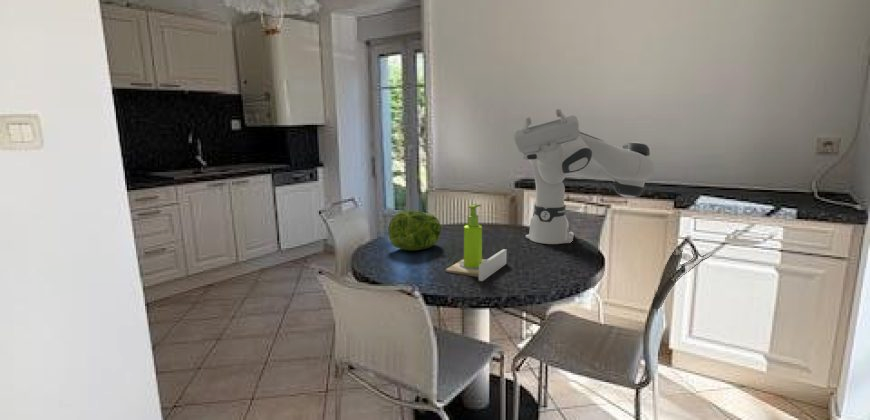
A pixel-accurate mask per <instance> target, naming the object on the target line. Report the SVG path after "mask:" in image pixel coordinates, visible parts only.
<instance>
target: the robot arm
mask: <svg viewBox="0 0 870 420" xmlns="http://www.w3.org/2000/svg"><path fill="white" fill-rule="evenodd" d="M555 114H556V117H557V119H553V120H549V121H545V122H543V123H538V124H534V125H532V120H531V119H532V118H531V116H528V117H525V122H524V124H523V128H520V129H515V130H514V132H513V138H514V142H515V145H516V147H517V149H518V151H519V152H520V153H521V156H522V158H523V160H526V161H528V162H529V163H530V165H531V168H532V172H533V176H534V182H535V204H534V208H533V212H534V215H533V216H531V218H530V219H529V220H530V221H529V233H528V234H525V238H526V239H529V240H530V241H532V242H534V243H538V244H546V245H559V244H572V243H573V242H572V241H574V236H575V235H574V232H573V231H571V230H570V229H569V227H570V226H569V225H570V223H569V220H568V219H567V217H566V210H567V208H566V204H565V191H566V188H565V184H564V182H563V181H564V180H565V178H566V177H567V176H568V175H571V176H576V177H582V178H586V179H592V180H601V181H602V180H610V181H612V183H610V184H609V185H610V186H612V188H613V191H614V192H615V193H616V194H617V195H620V196H621V197H623V198H626V199H634V198H638V197H641V196H642V194H643V192H644V189H645V188H644V187H645V183H646V181H648V180H649V179H650V178H651V177H652V176H653V174H654V172H655V165H654V161H653V160H652V159H651V158H650V155H651V153H650V148H649V146H648V145H647V144H645V143H643V142H640V141H631V142H626V143H624V145H623V146H622V147H621V146H617V145H615V144H612V143H609V142H607V141H605V140H603V139H600V138H598V137H595V136H593V135H590V134H587V133H584V132H581V130H580V129H579V127H580V126H579V125H580V124H579V120H578V118H577V116H575V115H568V116H566V115H565V114H563V113H562V109H561V108H559V109H555ZM571 242H572V243H571Z"/></svg>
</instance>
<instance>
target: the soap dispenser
mask: <svg viewBox="0 0 870 420" xmlns="http://www.w3.org/2000/svg"><path fill="white" fill-rule="evenodd" d="M478 207H482V205H481V204H475V203H474V204H469V206H468V209H470V213H469V214H468V215H467V224H465V225H463V259H464V266H465V267H468V268H478V267H479V264H481V263H482V259H483V257H482V256H483V226H482V225H480V224H479V215H477V214H476V213H477V212H476V210H477V208H478Z"/></svg>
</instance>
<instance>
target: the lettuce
mask: <svg viewBox="0 0 870 420" xmlns="http://www.w3.org/2000/svg"><path fill="white" fill-rule="evenodd" d="M388 224H389V225H388V228H387V233H388V237H389V240H390V243H391V244H392V245H393V247H394V248H397V249H402V250H404V251H410V252H412V251H414V252H416V251H420V250H421V251H422V250H425V249H430V248H431V247H432V246H434V245H435V244H437V242H438V241H439V239H440V238H441V235H442V230H443V229H442V224H441V222H440V220H439V219H438V217H435V216H434V215H433V214H431V213H428V212H424V211H420V210H419V211H418V210H402V211H399V212H397V213H396V214H395V215H394V216H393V217H392V218H391V220H390V222H389V223H388Z"/></svg>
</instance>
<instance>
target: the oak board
mask: <svg viewBox="0 0 870 420" xmlns="http://www.w3.org/2000/svg"><path fill="white" fill-rule="evenodd" d="M485 260H487V258H486V259H483V258H482V262H484V261H485ZM445 272H446V273H452V274H458V275H463V276H469V277H477V278H479V267H478V268H468V267H465V266H464V258H463V259H461V260H459V261H458V262H456V263H455V264H452V265H451V266H449V267H447V268H445Z"/></svg>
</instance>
